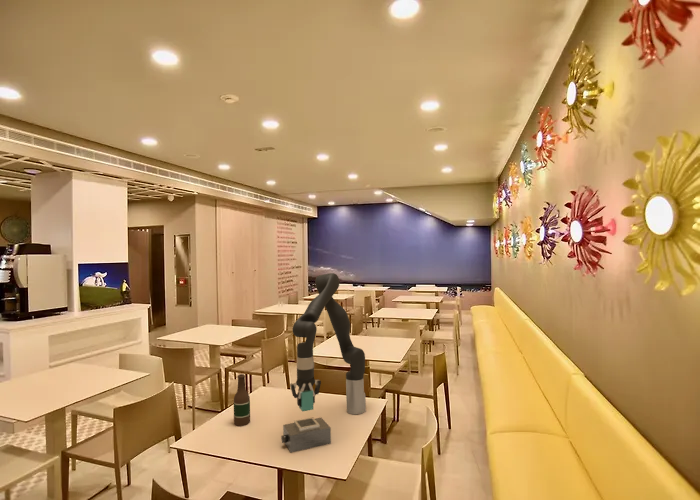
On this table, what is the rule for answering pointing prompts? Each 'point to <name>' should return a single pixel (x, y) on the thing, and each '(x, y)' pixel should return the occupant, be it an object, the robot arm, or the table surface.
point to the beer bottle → (241, 403)
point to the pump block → (306, 400)
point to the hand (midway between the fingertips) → (306, 405)
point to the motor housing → (306, 434)
